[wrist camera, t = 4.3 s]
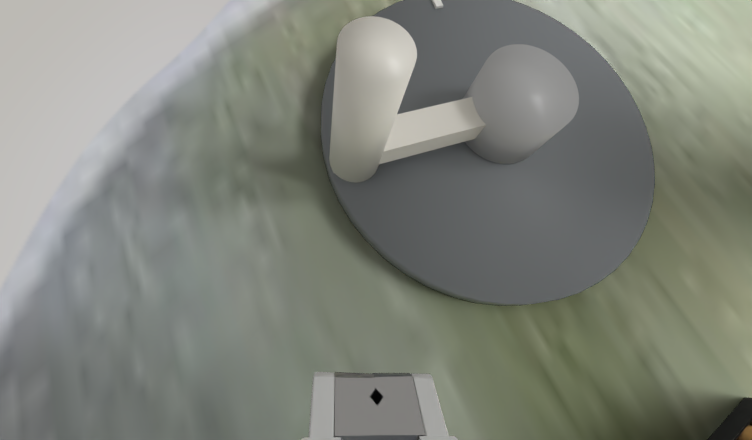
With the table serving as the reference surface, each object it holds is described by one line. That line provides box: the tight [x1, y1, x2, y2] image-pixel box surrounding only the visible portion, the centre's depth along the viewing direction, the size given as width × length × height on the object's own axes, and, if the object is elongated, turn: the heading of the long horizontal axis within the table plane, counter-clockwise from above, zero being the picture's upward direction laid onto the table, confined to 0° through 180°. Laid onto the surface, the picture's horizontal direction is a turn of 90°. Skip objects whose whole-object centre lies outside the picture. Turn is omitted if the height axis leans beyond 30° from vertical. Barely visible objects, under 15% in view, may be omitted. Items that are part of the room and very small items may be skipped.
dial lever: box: [329, 16, 579, 183], centre depth 19 cm, size 15×6×9 cm, turn 110°
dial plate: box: [321, 0, 655, 306], centre depth 25 cm, size 24×24×2 cm
